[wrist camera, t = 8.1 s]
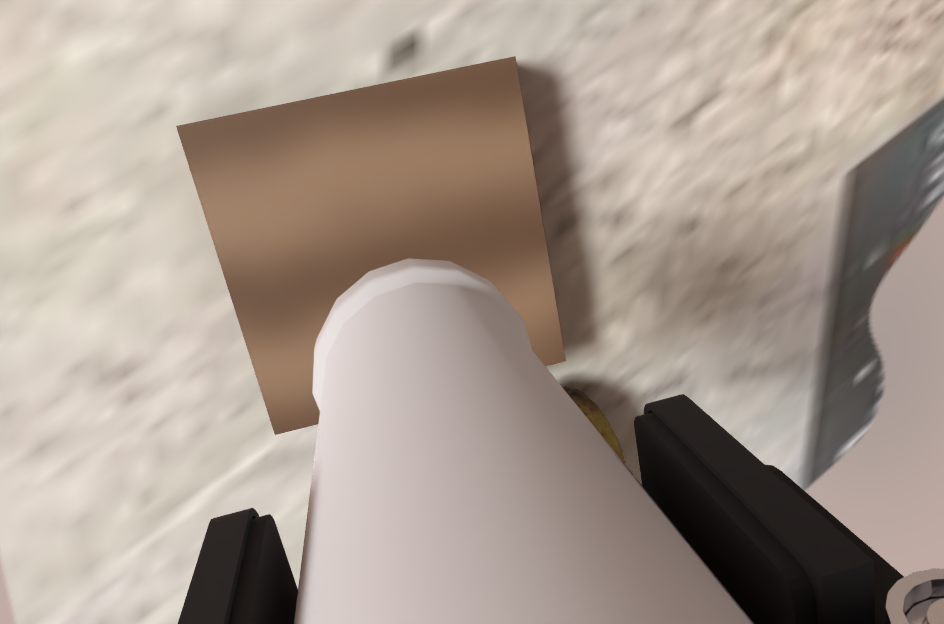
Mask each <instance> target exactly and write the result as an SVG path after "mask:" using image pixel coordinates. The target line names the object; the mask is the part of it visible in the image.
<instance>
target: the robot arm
mask: <svg viewBox="0 0 944 624" xmlns="http://www.w3.org/2000/svg"><path fill="white" fill-rule="evenodd" d="M634 427H635V435H636V442H637V449H638V457H639V464H640V471H641V479H642V486H643V487H644V489H645V490H646V491H647V492H648V494H649V495H650V496H651V497H652V498H653V500H654V501H655V502H656V503H657V505H658V506H659V507H660V508H661V510H662V511H663V512H664V513H665V514H666V516H667V517H668V518H669V519H670V521H671V522H672V523H673V524H674V526H675V527H676V528H677V529H678V530H679V532H680V533H681V534H682V535H683V537H684V538H685V539H686V540H687V542H688V543H689V544H690V545H691V546H692V548H693V549H694V550H695V551H696V553H697V554H698V555H699V556H700V557H701V559H702V560H703V561H704V562H705V564H706V565H707V566H708V567H709V569H710V570H711V571H712V572H713V573H714V575H715V576H716V577H717V578H718V580H719V581H720V582H721V583H722V585H723V586H724V587H725V588H726V589H727V591H728V592H729V593H730V594H731V596H732V597H733V598H734V599H735V601H736V602H737V603H738V604H739V605H740V607H741V608H742V609H743V610H744V612H745V613H746V614H747V615H748V617H749V618H750V619H751V620H752V621H753V623H754V624H944V569H930V570H924V571H919V572H914V573H912V574H910V575H908V576H906V577H904V576H902V575H901V574H900V573H899V572H898V571H897V570H895V569H894V568H893V567H892V566H891V565H890V564H888V563H887V562H886V561H885V560H884V559H883V558H882V557H880V556H879V555H878V554H877V553H876V552H875V551H873V550H872V549H871V548H870V547H869V546H868V545H866V544H865V543H864V542H863V541H862V540H860V539H859V538H858V537H857V536H856V535H855V534H854V533H852V532H851V531H850V530H849V529H848V528H846V526H844V525H843V524H842V523H841V522H840V521H839V520H837V519H836V518H835V517H834V516H833V515H831V514H830V513H829V512H828V511H827V510H826V509H824V508H823V507H822V506H821V505H820V504H819V503H818V502H816V501H815V500H814V499H813V498H812V497H811V496H809V495H808V494H807V493H806V492H805V491H804V490H803V489H801V488H800V487H799V486H798V485H797V484H796V483H794V482H793V481H792V480H791V479H790V478H789V477H787V476H786V475H785V474H784V473H783V472H782V471H780V470H779V469H777V468H776V467H774V466H772V465H764V464H763V463H762V462H761V461H760V460H759V459H757V458H756V457H755V456H754V455H753V454H752V453H751V452H750V451H748V450H747V449H746V448H745V447H744V446H743V445H742V444H740V443H739V442H738V441H737V440H736V439H735V438H734V437H733V436H731V435H730V434H729V433H728V432H727V431H726V430H725V429H723V428H722V427H721V426H720V425H719V424H718V423H717V422H715V421H714V420H713V419H712V418H711V417H710V416H709V415H708V414H706V413H705V412H704V411H703V410H702V409H701V408H700V407H698V406H697V405H696V404H695V403H694V402H693V401H692V400H690V399H689V398H688V397H687V396H685V395H684V394H683V395H678V396H674V397H670V398H666V399H663V400H659V401H655V402H651V403H648V404H646V405H645V407H644V415H641V416H637V417H636V418H635V421H634ZM297 596H298V589H297V586H296V583H295V580H294V577H293V574H292V571H291V568H290V565H289V562H288V559H287V556H286V553H285V550H284V547H283V545H282V542H281V539H280V536H279V533H278V530H277V527H276V524H275V521H274V519H273V517H272V516H271V515H270V514H269V515H265V516H261V517H259V515H258V513H257V512H256V510H255V509H253V508H251V509H247V510H243V511H239V512H236V513H232V514H228V515H224V516H220V517H217V518H213V519H211V521H210V523H209V526H208V529H207V532H206V535H205V539H204V542H203V545H202V548H201V551H200V554H199V558H198V561H197V564H196V567H195V570H194V574H193V577H192V580H191V583H190V586H189V590H188V593H187V596H186V599H185V602H184V606H183V609H182V612H181V615H180V618H179V622H178V624H294V620H295V612H296V604H297Z"/></svg>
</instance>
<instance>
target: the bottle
mask: <svg viewBox="0 0 944 624" xmlns="http://www.w3.org/2000/svg"><path fill="white" fill-rule="evenodd" d="M312 393H313V396H314V398H315V401H316V403H317V406H318V408H319V410H320V416H319V424H318V432H317V440H316V448H315V457H314V465H313V473H312V481H311V489H310V497H309V506H308V514H307V522H306V530H305V538H304V547H303V555H302V563H301V571H300V579H299V587H298V596H297V604H296V612H295V620H294V624H754V623H753V621H752V620H751V619H750V618H749V617H748V615H747V614H746V613H745V612H744V610H743V609H742V608H741V607H740V605H739V604H738V603H737V602H736V601H735V599H734V598H733V597H732V596H731V594H730V593H729V592H728V591H727V589H726V588H725V587H724V586H723V585H722V583H721V582H720V581H719V580H718V578H717V577H716V576H715V575H714V573H713V572H712V571H711V570H710V569H709V567H708V566H707V565H706V564H705V562H704V561H703V560H702V559H701V557H700V556H699V555H698V554H697V553H696V551H695V550H694V549H693V548H692V546H691V545H690V544H689V543H688V542H687V540H686V539H685V538H684V537H683V535H682V534H681V533H680V532H679V530H678V529H677V528H676V527H675V526H674V524H673V523H672V522H671V521H670V519H669V518H668V517H667V516H666V514H665V513H664V512H663V511H662V510H661V508H660V507H659V506H658V505H657V503H656V502H655V501H654V500H653V498H652V497H651V496H650V495H649V494H648V492H647V491H646V490H645V489H644V487H643V486H642V485H641V484H640V482H639V481H638V480H637V479H636V478H635V476H634V475H633V474H632V473H631V471H630V470H629V469H628V468H627V466H626V465H625V464H624V463H623V462H622V460H621V459H620V458H619V457H618V455H617V454H616V453H615V452H614V451H613V449H612V448H611V447H610V446H609V444H608V443H607V442H606V441H605V439H604V438H603V437H602V436H601V435H600V433H599V432H598V431H597V430H596V428H595V427H594V426H593V425H592V423H591V422H590V421H589V420H588V419H587V417H586V416H585V415H584V414H583V412H582V411H581V410H580V409H579V407H578V406H577V405H576V404H575V403H574V401H573V400H572V399H571V398H570V396H569V395H568V394H567V393H566V391H565V390H564V389H563V388H562V387H561V385H560V384H559V383H558V382H557V380H556V379H555V378H554V377H553V375H552V374H551V373H550V372H549V371H548V369H547V368H546V367H545V366H544V364H543V363H542V362H541V361H540V360H539V358H538V357H537V356H536V355H535V353H534V352H533V351H532V348H531V344H530V341H529V337H528V334H527V330H526V327H525V323H524V320H523V319H522V318H521V317H520V315H519V314H518V313H517V312H516V311H515V310H514V308H513V307H512V306H511V305H510V304H509V302H508V301H507V300H506V299H505V298H504V297H503V295H502V294H501V293H500V292H499V291H498V289H497V288H496V287H495V286H494V285H493V284H492V283H491V282H490V281H489V280H487V279H485V278H483V277H481V276H479V275H477V274H475V273H473V272H471V271H469V270H467V269H465V268H463V267H461V266H459V265H457V264H455V263H453V262H450V261H442V260H426V259H410V258H408V259H405V260H402V261H399V262H396V263H393V264H390V265H387V266H384V267H381V268H378V269H375V270H372V271H369V272H368V273H366V274H365V275H364V276H363V277H362V278H361V279H359V280H358V281H357V282H356V283H355V284H354V285H352V286H351V287H350V288H349V289H348V290H347V291H345V292H344V293H343V294H342V295H341V296H339V297H338V298H337V299H336V301H335V303H334V305H333V307H332V309H331V311H330V313H329V315H328V317H327V319H326V321H325V323H324V325H323V327H322V329H321V331H320V333H319V335H318V337H317V339H316V343H315V348H314V366H313V390H312Z"/></svg>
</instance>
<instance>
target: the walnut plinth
mask: <svg viewBox="0 0 944 624" xmlns="http://www.w3.org/2000/svg"><path fill="white" fill-rule="evenodd" d="M176 127H177V130H178V133H179V136H180V139H181V143H182V146H183V149H184V152H185V155H186V158H187V161H188V164H189V168H190V171H191V174H192V177H193V180H194V183H195V186H196V189H197V193H198V196H199V199H200V202H201V205H202V208H203V211H204V214H205V218H206V221H207V224H208V227H209V230H210V233H211V236H212V239H213V243H214V246H215V249H216V252H217V255H218V258H219V261H220V264H221V268H222V271H223V274H224V277H225V280H226V283H227V286H228V289H229V293H230V296H231V299H232V302H233V305H234V308H235V311H236V314H237V317H238V321H239V324H240V327H241V330H242V333H243V336H244V339H245V342H246V346H247V349H248V352H249V355H250V358H251V361H252V364H253V367H254V371H255V374H256V377H257V380H258V383H259V386H260V389H261V392H262V396H263V399H264V402H265V405H266V408H267V411H268V414H269V417H270V421H271V424H272V427H273V430H274V433H275V435H277V434H281V433H285V432H288V431H292V430H296V429H300V428H304V427H308V426H312V425H316V424H319V416H320V410H319V408H318V406H317V403H316V401H315V398H314V396H313V393H312V390H313V366H314V348H315V343H316V339H317V337H318V335H319V333H320V331H321V329H322V327H323V325H324V323H325V321H326V319H327V317H328V315H329V313H330V311H331V309H332V307H333V305H334V303H335V301H336V299H337V298H338V297H339V296H341V295H342V294H343V293H344V292H345V291H347V290H348V289H349V288H350V287H351V286H352V285H354V284H355V283H356V282H357V281H358V280H359V279H361V278H362V277H363V276H364V275H365V274H366V273H368V272H369V271H372V270H375V269H378V268H381V267H384V266H387V265H390V264H393V263H396V262H399V261H402V260H405V259H408V258H410V259H426V260H442V261H450V262H453V263H455V264H457V265H459V266H461V267H463V268H465V269H467V270H469V271H471V272H473V273H475V274H477V275H479V276H481V277H483V278H485V279H487V280H489V281H490V282H491V283H492V284H493V285H494V286H495V287H496V288H497V289H498V291H499V292H500V293H501V294H502V295H503V297H504V298H505V299H506V300H507V301H508V302H509V304H510V305H511V306H512V307H513V308H514V310H515V311H516V312H517V313H518V314H519V315H520V317H521V318H522V319H523V320H524V323H525V327H526V330H527V334H528V337H529V341H530V344H531V348H532V351H533V352H534V353H535V355H536V356H537V357H538V358H539V360H540V361H541V362H542V363H543V364H544V366H548V365H552V364H556V363H560V362H564V361H566V360H565V354H564V347H563V341H562V335H561V329H560V323H559V317H558V311H557V305H556V299H555V293H554V287H553V281H552V275H551V269H550V263H549V257H548V251H547V245H546V239H545V233H544V227H543V221H542V215H541V209H540V203H539V197H538V191H537V184H536V178H535V172H534V166H533V160H532V154H531V148H530V142H529V136H528V130H527V124H526V118H525V112H524V106H523V100H522V94H521V88H520V82H519V76H518V70H517V64H516V58H515V57H510V58H505V59H500V60H495V61H490V62H486V63H481V64H476V65H471V66H466V67H461V68H456V69H452V70H447V71H442V72H437V73H432V74H427V75H422V76H418V77H413V78H408V79H403V80H398V81H393V82H388V83H384V84H379V85H374V86H369V87H364V88H359V89H354V90H350V91H345V92H340V93H335V94H330V95H325V96H320V97H316V98H311V99H306V100H301V101H296V102H291V103H286V104H282V105H277V106H272V107H267V108H262V109H257V110H253V111H248V112H243V113H238V114H233V115H228V116H223V117H219V118H214V119H209V120H204V121H199V122H194V123H189V124H185V125H180V126H176Z"/></svg>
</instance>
